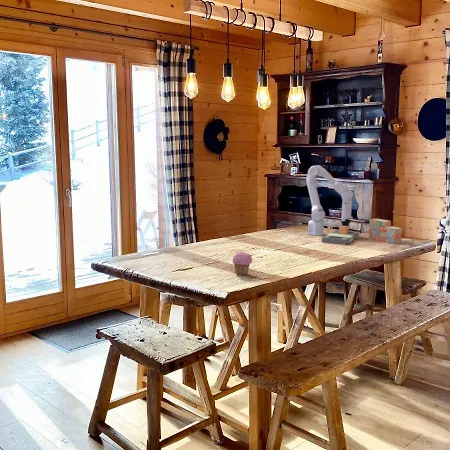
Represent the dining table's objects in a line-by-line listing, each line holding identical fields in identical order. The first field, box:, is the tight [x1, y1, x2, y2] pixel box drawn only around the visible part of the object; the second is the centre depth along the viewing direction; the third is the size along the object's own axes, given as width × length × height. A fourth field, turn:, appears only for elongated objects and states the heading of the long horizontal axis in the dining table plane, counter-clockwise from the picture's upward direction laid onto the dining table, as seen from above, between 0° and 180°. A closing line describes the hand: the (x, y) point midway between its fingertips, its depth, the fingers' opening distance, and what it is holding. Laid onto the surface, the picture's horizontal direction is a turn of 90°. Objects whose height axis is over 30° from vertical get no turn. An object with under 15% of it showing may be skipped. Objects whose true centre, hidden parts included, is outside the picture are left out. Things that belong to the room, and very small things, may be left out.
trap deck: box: [321, 229, 360, 246], centre depth 329 cm, size 14×32×3 cm, turn 152°
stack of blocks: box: [368, 218, 403, 245], centre depth 327 cm, size 21×6×12 cm, turn 27°
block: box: [338, 225, 349, 234], centre depth 332 cm, size 4×4×4 cm
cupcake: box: [232, 251, 253, 276], centre depth 239 cm, size 9×9×10 cm
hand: (345, 231), depth 336 cm, fingers closed
